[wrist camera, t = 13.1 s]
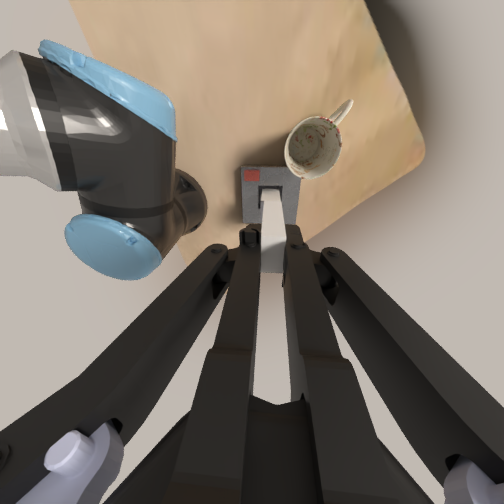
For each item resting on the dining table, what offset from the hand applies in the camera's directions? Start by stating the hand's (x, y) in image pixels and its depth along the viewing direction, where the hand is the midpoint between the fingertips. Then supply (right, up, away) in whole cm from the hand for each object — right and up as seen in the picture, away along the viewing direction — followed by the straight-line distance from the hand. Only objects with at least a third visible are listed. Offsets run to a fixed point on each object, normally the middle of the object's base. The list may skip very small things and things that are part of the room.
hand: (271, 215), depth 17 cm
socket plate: (+2, +9, +25) cm, 27 cm away
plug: (+2, +9, +25) cm, 27 cm away
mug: (+9, +19, +19) cm, 28 cm away
